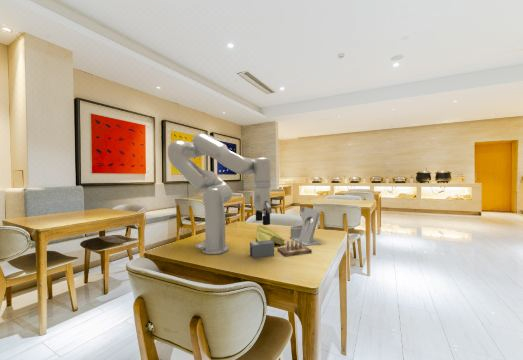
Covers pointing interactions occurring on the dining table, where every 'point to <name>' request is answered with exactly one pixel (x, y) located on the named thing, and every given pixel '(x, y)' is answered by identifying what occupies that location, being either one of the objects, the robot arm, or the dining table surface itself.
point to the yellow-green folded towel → (268, 235)
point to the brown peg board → (294, 249)
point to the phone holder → (306, 227)
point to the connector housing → (261, 249)
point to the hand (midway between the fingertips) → (262, 222)
